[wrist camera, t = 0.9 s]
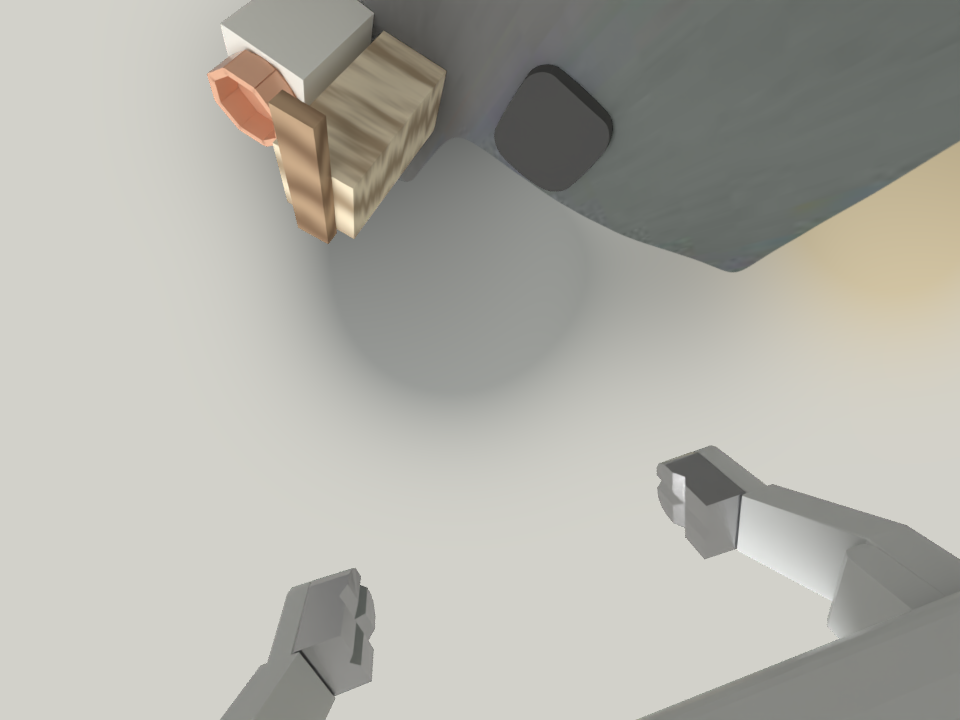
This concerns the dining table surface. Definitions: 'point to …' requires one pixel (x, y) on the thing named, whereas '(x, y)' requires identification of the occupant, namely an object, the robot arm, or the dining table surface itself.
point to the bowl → (248, 93)
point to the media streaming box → (552, 129)
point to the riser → (302, 38)
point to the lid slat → (305, 163)
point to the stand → (375, 125)
